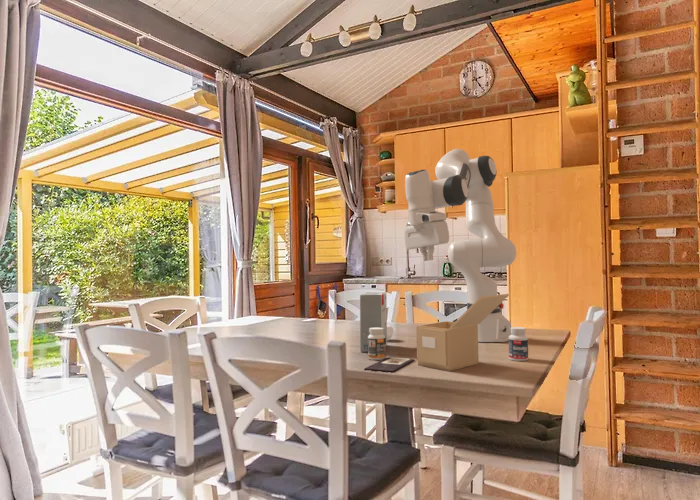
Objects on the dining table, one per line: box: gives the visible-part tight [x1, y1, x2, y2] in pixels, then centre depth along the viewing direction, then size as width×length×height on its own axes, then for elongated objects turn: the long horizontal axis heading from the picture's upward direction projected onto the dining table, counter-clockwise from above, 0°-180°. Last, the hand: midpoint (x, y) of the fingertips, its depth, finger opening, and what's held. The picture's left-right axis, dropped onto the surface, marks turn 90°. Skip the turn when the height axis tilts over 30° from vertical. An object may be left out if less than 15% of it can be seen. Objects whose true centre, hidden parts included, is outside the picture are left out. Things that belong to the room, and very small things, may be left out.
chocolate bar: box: [363, 356, 415, 374], centre depth 161 cm, size 9×1×18 cm
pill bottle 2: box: [507, 326, 529, 362], centre depth 166 cm, size 6×6×10 cm
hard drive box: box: [359, 291, 388, 353], centre depth 190 cm, size 16×8×20 cm, turn 168°
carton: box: [415, 320, 480, 372], centre depth 161 cm, size 15×12×12 cm
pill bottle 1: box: [367, 327, 387, 361], centre depth 171 cm, size 6×6×10 cm
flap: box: [450, 293, 510, 329], centre depth 152 cm, size 14×1×14 cm
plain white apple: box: [387, 324, 394, 342], centre depth 207 cm, size 7×7×8 cm
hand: (428, 260), depth 173 cm, fingers closed
